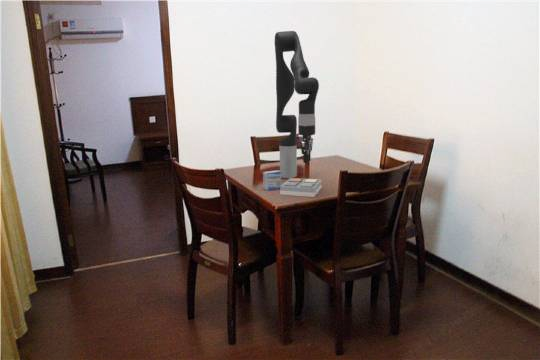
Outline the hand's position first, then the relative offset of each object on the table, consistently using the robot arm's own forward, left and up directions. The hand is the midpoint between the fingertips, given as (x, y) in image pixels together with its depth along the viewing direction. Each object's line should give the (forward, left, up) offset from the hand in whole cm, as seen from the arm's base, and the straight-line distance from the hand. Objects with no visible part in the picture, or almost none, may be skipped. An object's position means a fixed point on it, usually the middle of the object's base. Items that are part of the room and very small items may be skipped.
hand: (307, 161), depth 183 cm
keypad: (-4, -4, -15) cm, 16 cm away
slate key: (0, -7, -12) cm, 14 cm away
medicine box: (-5, -19, -15) cm, 25 cm away
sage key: (0, 0, -12) cm, 12 cm away
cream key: (-7, 0, -12) cm, 14 cm away
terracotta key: (-7, -7, -12) cm, 16 cm away
